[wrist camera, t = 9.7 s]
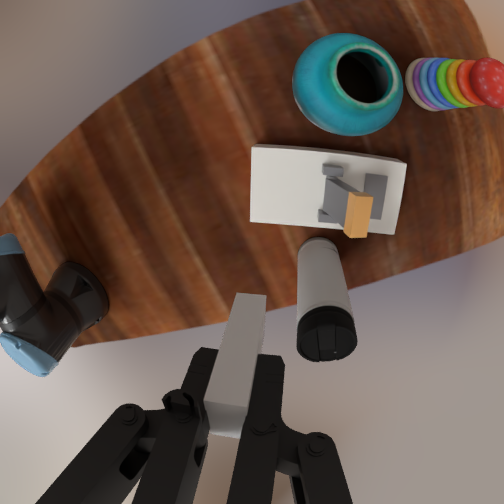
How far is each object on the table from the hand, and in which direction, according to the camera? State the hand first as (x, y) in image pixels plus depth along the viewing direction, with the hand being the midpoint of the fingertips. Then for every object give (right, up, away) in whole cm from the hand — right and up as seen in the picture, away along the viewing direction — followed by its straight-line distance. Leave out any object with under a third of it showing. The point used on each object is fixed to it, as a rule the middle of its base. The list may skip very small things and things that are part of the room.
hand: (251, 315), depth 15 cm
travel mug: (+10, +3, +29) cm, 31 cm away
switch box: (+10, +13, +24) cm, 29 cm away
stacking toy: (+25, +27, +15) cm, 39 cm away
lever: (+10, +10, +20) cm, 24 cm away
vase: (+11, +24, +18) cm, 32 cm away
